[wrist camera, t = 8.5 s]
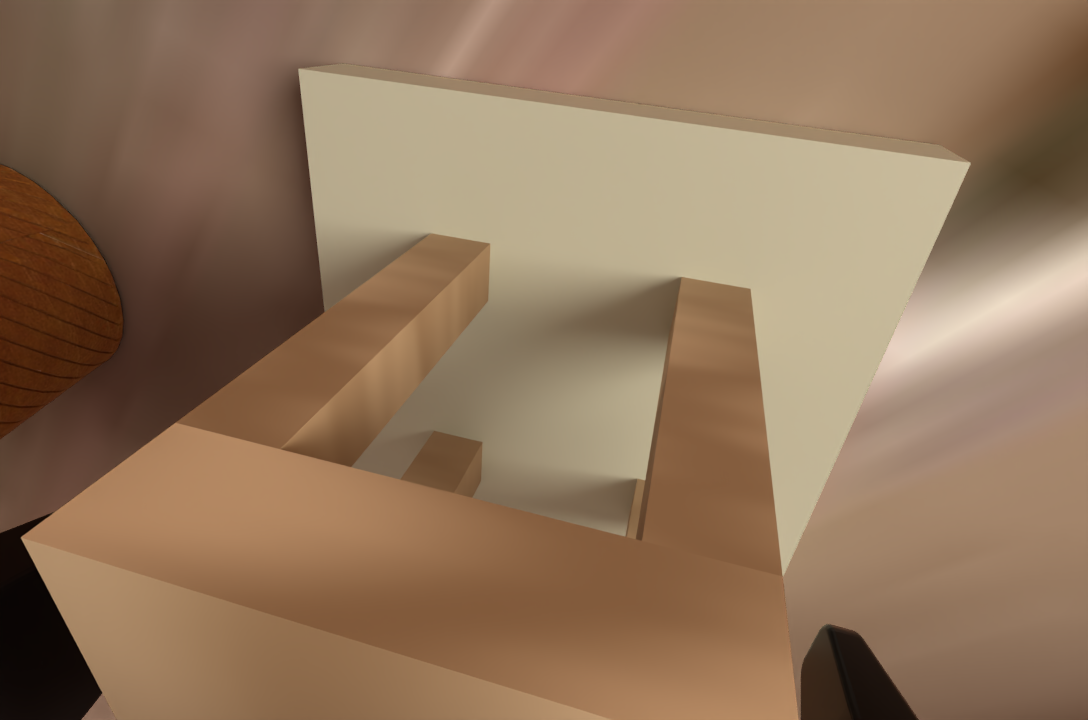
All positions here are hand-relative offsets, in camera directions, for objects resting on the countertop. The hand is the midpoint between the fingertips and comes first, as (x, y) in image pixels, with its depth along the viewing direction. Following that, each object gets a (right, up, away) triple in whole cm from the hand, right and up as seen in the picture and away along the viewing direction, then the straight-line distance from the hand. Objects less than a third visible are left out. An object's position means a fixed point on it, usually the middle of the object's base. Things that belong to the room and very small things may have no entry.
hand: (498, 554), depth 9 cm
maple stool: (+1, +2, +4) cm, 4 cm away
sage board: (+1, +3, +5) cm, 6 cm away
